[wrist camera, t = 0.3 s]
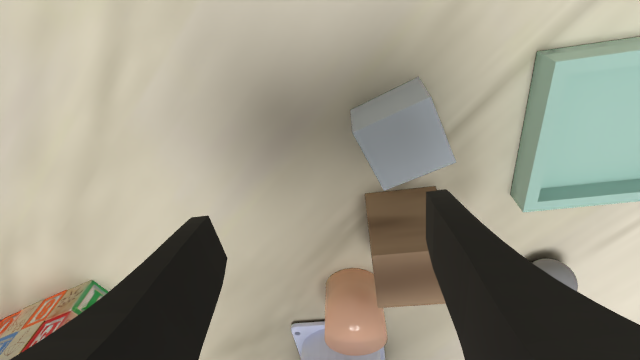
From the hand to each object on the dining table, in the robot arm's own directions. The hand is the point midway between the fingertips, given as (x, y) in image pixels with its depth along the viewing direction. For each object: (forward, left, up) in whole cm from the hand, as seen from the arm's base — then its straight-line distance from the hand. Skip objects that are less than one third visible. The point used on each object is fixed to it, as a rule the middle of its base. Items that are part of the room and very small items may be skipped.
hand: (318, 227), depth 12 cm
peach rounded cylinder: (-15, 0, -10) cm, 18 cm away
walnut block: (-8, -4, -10) cm, 13 cm away
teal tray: (-3, -16, -10) cm, 19 cm away
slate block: (-1, -4, -10) cm, 11 cm away
